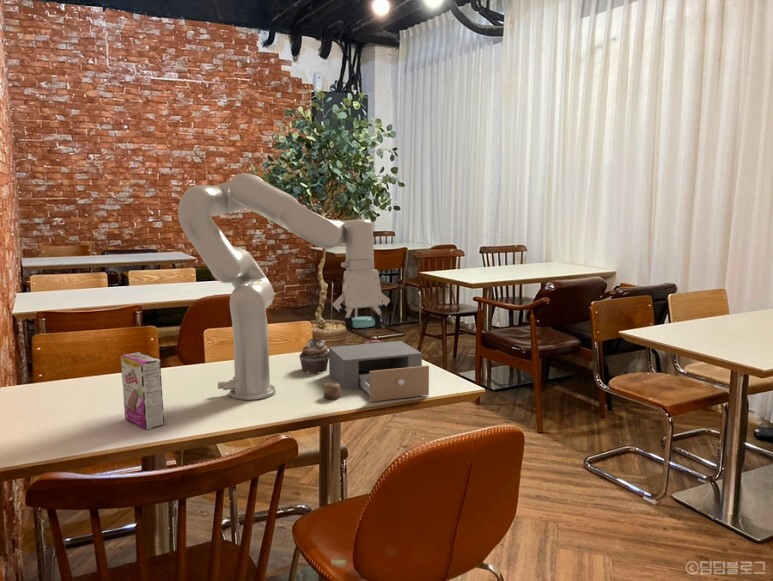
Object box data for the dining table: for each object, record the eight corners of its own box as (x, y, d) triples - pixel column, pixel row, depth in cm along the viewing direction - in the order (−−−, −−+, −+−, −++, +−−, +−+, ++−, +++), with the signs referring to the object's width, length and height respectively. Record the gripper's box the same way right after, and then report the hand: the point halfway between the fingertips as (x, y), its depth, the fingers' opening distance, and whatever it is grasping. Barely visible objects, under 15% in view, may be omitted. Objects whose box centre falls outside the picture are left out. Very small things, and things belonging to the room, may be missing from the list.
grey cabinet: (421, 381, 181) (421, 353, 180) (344, 390, 173) (344, 360, 172) (401, 367, 197) (401, 341, 195) (329, 374, 189) (328, 347, 187)
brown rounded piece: (326, 400, 164) (325, 388, 163) (322, 395, 168) (322, 383, 167) (341, 398, 165) (341, 386, 165) (337, 394, 169) (337, 382, 169)
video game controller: (389, 361, 211) (390, 341, 213) (388, 358, 206) (389, 338, 209) (361, 360, 212) (362, 341, 214) (360, 357, 207) (361, 338, 210)
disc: (353, 328, 161) (353, 322, 161) (346, 323, 168) (346, 318, 168) (378, 325, 164) (378, 319, 163) (370, 321, 170) (370, 315, 170)
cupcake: (300, 366, 198) (299, 336, 197) (329, 365, 199) (329, 335, 198) (298, 374, 189) (298, 343, 187) (330, 373, 190) (329, 342, 188)
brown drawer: (430, 395, 166) (430, 367, 165) (371, 402, 161) (371, 372, 160) (406, 378, 183) (406, 352, 182) (352, 384, 177) (352, 357, 176)
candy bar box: (123, 419, 149) (119, 355, 147) (143, 414, 153) (139, 351, 151) (145, 431, 142) (141, 363, 140) (165, 425, 146) (161, 358, 143)
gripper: (332, 268, 157) (335, 335, 160) (395, 264, 163) (397, 329, 165) (325, 266, 164) (328, 330, 167) (386, 262, 170) (388, 324, 172)
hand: (362, 329), depth 166 cm, fingers closed on disc, 6 cm apart
